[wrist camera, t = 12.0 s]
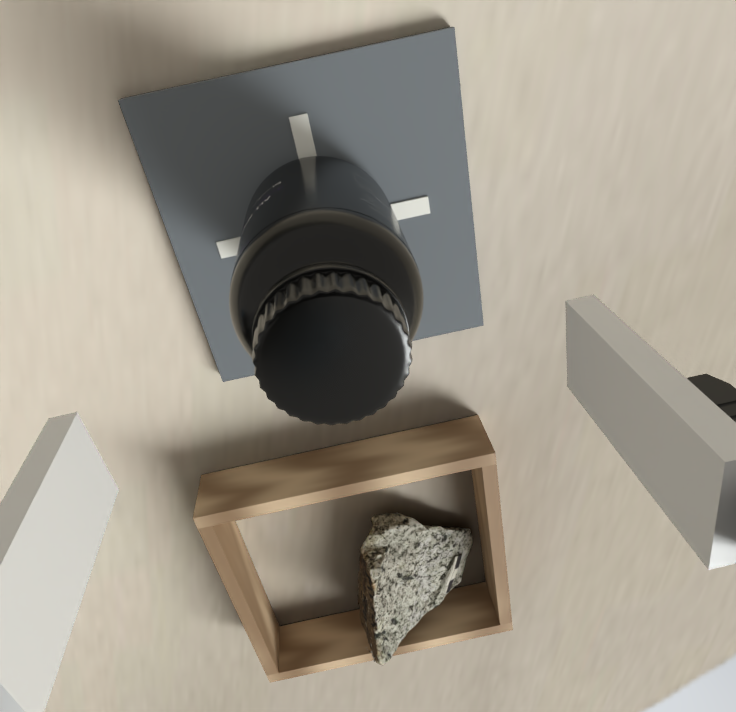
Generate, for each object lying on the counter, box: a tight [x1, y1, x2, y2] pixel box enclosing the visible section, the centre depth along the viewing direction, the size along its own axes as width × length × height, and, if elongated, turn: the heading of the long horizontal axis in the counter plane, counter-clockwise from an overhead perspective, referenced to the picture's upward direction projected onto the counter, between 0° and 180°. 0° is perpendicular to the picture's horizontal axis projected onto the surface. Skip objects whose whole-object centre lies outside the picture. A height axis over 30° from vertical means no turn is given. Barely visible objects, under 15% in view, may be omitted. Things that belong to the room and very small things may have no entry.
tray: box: [193, 415, 513, 682], centre depth 38 cm, size 17×16×4 cm
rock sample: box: [358, 512, 473, 665], centre depth 39 cm, size 10×8×9 cm
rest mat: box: [118, 27, 483, 382], centre depth 28 cm, size 14×14×1 cm
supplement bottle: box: [229, 156, 424, 425], centre depth 23 cm, size 7×7×12 cm
